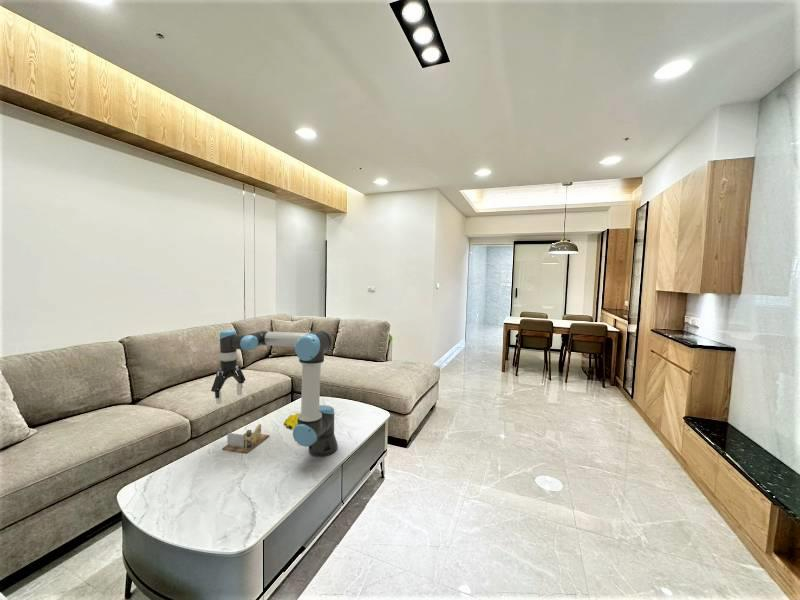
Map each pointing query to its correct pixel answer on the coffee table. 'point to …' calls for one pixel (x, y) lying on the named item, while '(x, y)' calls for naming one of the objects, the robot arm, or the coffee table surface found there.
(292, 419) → the door knocker
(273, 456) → the coffee table surface
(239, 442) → the fixed leaf
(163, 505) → the coffee table surface
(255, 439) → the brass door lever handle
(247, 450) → the walnut board
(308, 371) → the robot arm
